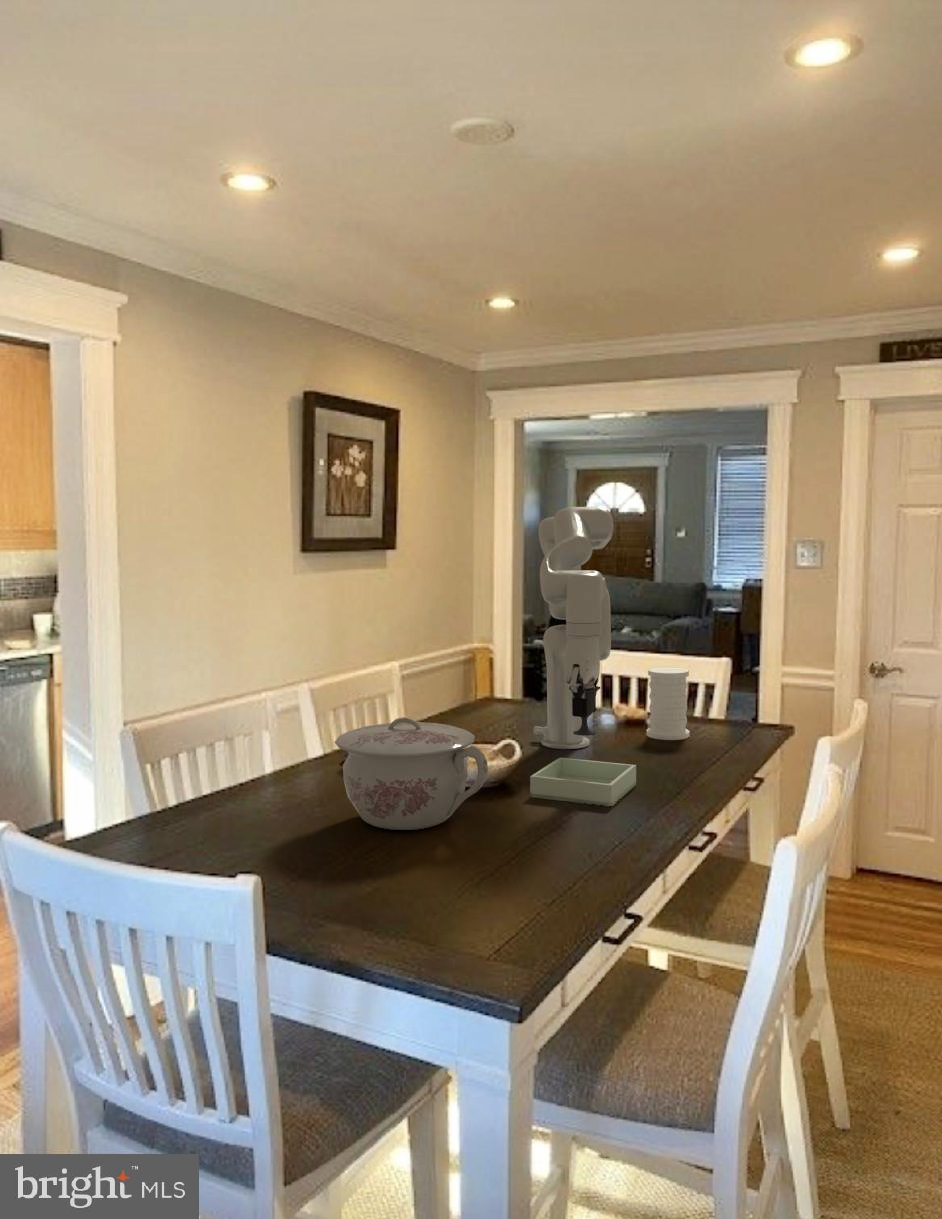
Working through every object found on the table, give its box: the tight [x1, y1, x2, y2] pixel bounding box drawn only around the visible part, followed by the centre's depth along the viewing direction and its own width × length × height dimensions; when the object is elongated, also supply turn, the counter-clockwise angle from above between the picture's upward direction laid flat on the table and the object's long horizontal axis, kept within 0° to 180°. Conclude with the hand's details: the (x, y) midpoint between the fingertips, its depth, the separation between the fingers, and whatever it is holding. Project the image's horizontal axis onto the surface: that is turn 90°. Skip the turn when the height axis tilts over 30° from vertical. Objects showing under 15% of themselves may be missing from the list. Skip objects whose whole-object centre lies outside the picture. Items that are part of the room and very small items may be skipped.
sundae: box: [569, 677, 601, 737], centre depth 208 cm, size 7×7×15 cm
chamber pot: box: [334, 717, 489, 831], centre depth 189 cm, size 28×28×21 cm
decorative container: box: [646, 666, 691, 741], centre depth 262 cm, size 12×12×18 cm
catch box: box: [529, 757, 637, 807], centre depth 209 cm, size 18×18×4 cm
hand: (584, 713), depth 208 cm, fingers closed on sundae, 4 cm apart
